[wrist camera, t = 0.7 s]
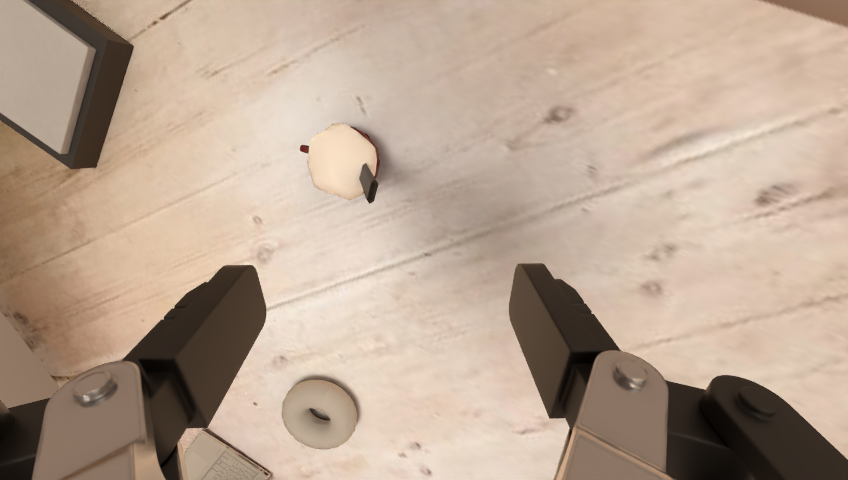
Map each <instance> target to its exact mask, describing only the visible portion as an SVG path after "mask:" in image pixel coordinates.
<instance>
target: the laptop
mask: <svg viewBox="0 0 848 480" xmlns="http://www.w3.org/2000/svg"><path fill="white" fill-rule="evenodd" d="M184 458H185V463H186V469H187V474H188V480H269V477H270V476H271V474H270V473H268V472H267V471H265V470H264V469H263V468H261V467H260V466H258V465H257V464H255V463H254V462H252V461H251V460H249V459H248V458H246V457H244V456H243V455H241V454H240V453H238V452H237V451H235V450H234V449H232V448H231V447H229V446H227V445H226V444H224V443H223V442H221V441H219V440H218V439H216V438H215V437H213V436H211V435H210V434H208V433H207V432H205V431H203V430H201V432H200V433H199V434H198V436H197V437H196V439H195V440H194V441H193V443H192V444H191V445H190V447H189V448H188V449H187V451H186V452H185V453H184Z"/></svg>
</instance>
